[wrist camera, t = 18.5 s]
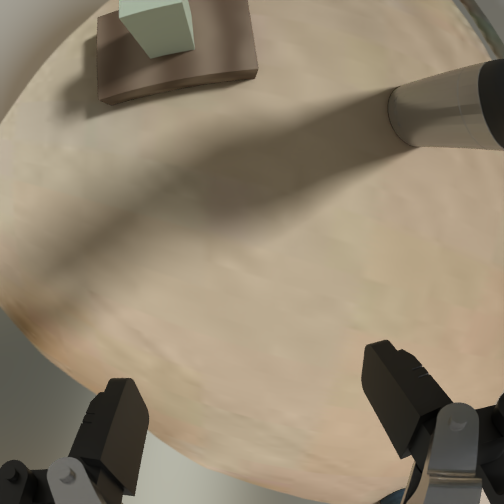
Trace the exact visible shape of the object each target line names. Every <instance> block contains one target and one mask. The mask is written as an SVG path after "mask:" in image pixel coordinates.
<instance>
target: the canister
mask: <svg viewBox="0 0 504 504" xmlns="http://www.w3.org/2000/svg"><path fill="white" fill-rule="evenodd" d="M405 489H406V488H405ZM405 489H401V490H399V491H396V492H394V493H392V494H390V495H388V496H387V497H385V498H384V499H382V500H381V501H380V504H400V503H401V501H402V498H403V495H404V492H405Z"/></svg>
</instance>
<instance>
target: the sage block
mask: <svg viewBox="0 0 504 504" xmlns="http://www.w3.org/2000/svg"><path fill="white" fill-rule="evenodd" d="M119 19H120V20H121V21H122V23H123V24H124V25H125V27H126V28H127V29H128V30H129V32H130V33H131V34H132V35H133V37H134V38H135V39H136V41H137V42H138V43H139V45H140V46H141V47H142V48H143V50H144V51H145V52H146V54H147V55H148V56H149V58H150V59H151V58H155V57H159V56H164V55H168V54H173V53H178V52H183V51H189V50H195V45H194V36H193V26H192V16H191V11H190V7H189V2H188V0H119Z"/></svg>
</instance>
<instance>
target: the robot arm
mask: <svg viewBox="0 0 504 504" xmlns="http://www.w3.org/2000/svg"><path fill="white" fill-rule="evenodd" d="M388 114H389V119H390V122H391V124H392V127H393V129H394V130H395V132H396V134H397V135H398V136H399V137H400V138H401V139H402V140H403V141H404V142H406V143H407V144H409V145H412V146H415V147H450V148H471V149H485V150H499V151H504V59H498V60H493V61H488V62H484V63H479V64H475V65H471V66H468V67H463V68H460V69H456V70H452V71H448V72H445V73H441V74H438V75H434V76H431V77H427V78H424V79H421V80H417V81H414V82H411V83H408V84H405V85H402V86H400V87H398V88H396V89H395V90H394V91H393V93H392V94H391V96H390V99H389V104H388ZM361 381H362V387H363V390H364V393H365V395H366V396H367V398H368V400H369V402H370V404H371V405H372V407H373V409H374V411H375V413H376V414H377V416H378V418H379V420H380V422H381V424H382V425H383V427H384V429H385V431H386V433H387V435H388V436H389V438H390V440H391V442H392V444H393V446H394V448H395V450H396V451H397V453H398V455H399V457H400V459H403V458H405V457H408V456H410V455H412V457H413V458H414V460H415V461H414V463H413V466H412V469H411V473H410V476H409V479H408V483H407V486H406V489H405V492H404V495H403V498H402V501H401V503H400V504H479V503H480V497H481V491H482V488H483V490H484V492H485V494H486V496H487V498H488V500H489V502H490V503H491V504H504V393H503V394H502V396H501V397H500V398H499V400H498V402H497V404H496V405H493V406H489V407H485V408H481V409H474V408H472V407H471V406H470V405H467V404H465V403H453V402H452V401H451V399H450V398H449V397H448V396H447V394H446V393H445V392H444V391H443V390H442V388H441V387H440V386H439V385H438V383H437V382H436V381H435V380H434V379H433V377H432V376H431V375H429V374H428V371H427V370H426V369H425V368H424V367H422V364H421V363H420V362H419V361H418V360H417V359H416V357H415V356H414V355H412V354H410V353H408V352H406V351H405V350H403V349H402V350H398V351H397V350H396V349H395V347H394V346H393V345H392V344H391V343H390V341H388V340H382V341H379V342H375V343H372V344H368V345H366V347H365V351H364V360H363V369H362V377H361ZM148 425H149V413H148V409H147V407H146V405H145V403H144V401H143V399H142V397H141V395H140V393H139V391H138V388H137V386H136V384H135V382H134V381H133V379H131V378H112V379H110V380H109V382H108V384H107V387H106V389H105V391H104V392H100V393H99V394H98V395H97V396H96V397H95V398H94V399H93V400H92V401H91V402H90V405H89V407H88V410H87V412H86V415H85V416H84V419H83V424H81V426H80V429H79V431H78V433H77V435H76V438H75V440H74V443H73V445H72V448H71V451H70V453H69V456H68V457H63V458H59V459H57V460H56V461H54V462H53V463H52V464H51V466H50V467H49V469H45V470H29V469H28V468H27V467H26V466H25V465H24V464H23V463H22V462H20V461H18V460H11V461H8V462H6V463H5V464H4V465H2V467H1V468H0V504H123V503H122V495H129V496H135V491H136V485H137V480H138V474H139V469H140V464H141V458H142V454H143V448H144V444H145V439H146V434H147V429H148Z"/></svg>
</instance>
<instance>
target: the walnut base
mask: <svg viewBox="0 0 504 504" xmlns="http://www.w3.org/2000/svg"><path fill="white" fill-rule="evenodd" d="M188 2H189V7H190V11H191V16H192V26H193V36H194V45H195V50H189V51H183V52H178V53H173V54H168V55H164V56H159V57H155V58H151V59H150V58H149V56H148V55H147V54H146V52H145V51H144V50H143V48H142V47H141V46H140V45H139V43H138V42H137V41H136V39H135V38H134V37H133V35H132V34H131V33H130V32H129V30H128V29H127V28H126V27H125V25H124V24H123V23H122V21H121V20H120V19H119V10H118V11H115V12H112V13H109V14H106V15H103V16H100V17H98V22H97V81H98V99H99V100H100V101H102V102H104V103H106V104H109V105H114V104H118V103H121V102H125V101H129V100H132V99H136V98H140V97H144V96H148V95H152V94H157V93H161V92H166V91H171V90H176V89H181V88H186V87H192V86H198V85H204V84H211V83H218V82H226V81H234V80H244V79H255V77H256V74H257V71H258V62H257V56H256V49H255V43H254V36H253V30H252V24H251V18H250V12H249V6H248V0H188Z"/></svg>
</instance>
